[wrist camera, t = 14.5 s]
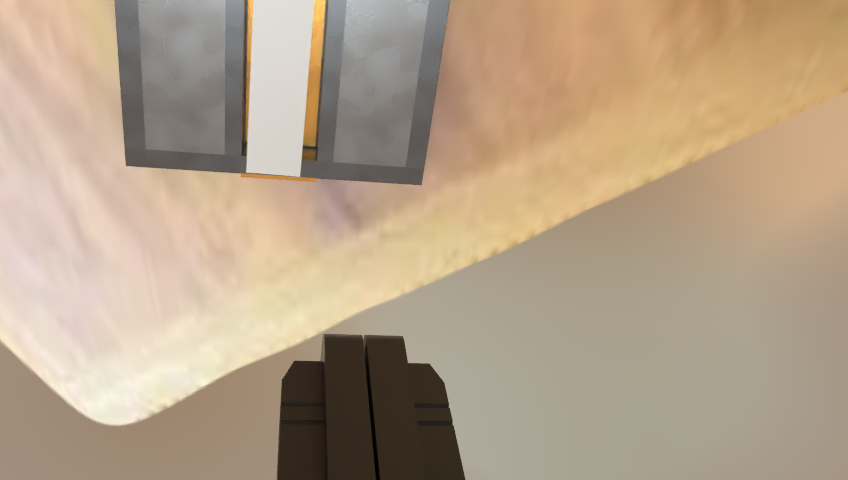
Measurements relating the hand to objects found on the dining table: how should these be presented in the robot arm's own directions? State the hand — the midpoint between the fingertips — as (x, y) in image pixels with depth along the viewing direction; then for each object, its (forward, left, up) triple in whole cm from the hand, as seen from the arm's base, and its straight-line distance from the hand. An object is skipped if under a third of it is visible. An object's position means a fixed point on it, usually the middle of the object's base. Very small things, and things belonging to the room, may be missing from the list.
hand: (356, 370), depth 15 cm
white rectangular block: (+2, +6, -34) cm, 35 cm away
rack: (+2, +6, -35) cm, 35 cm away
